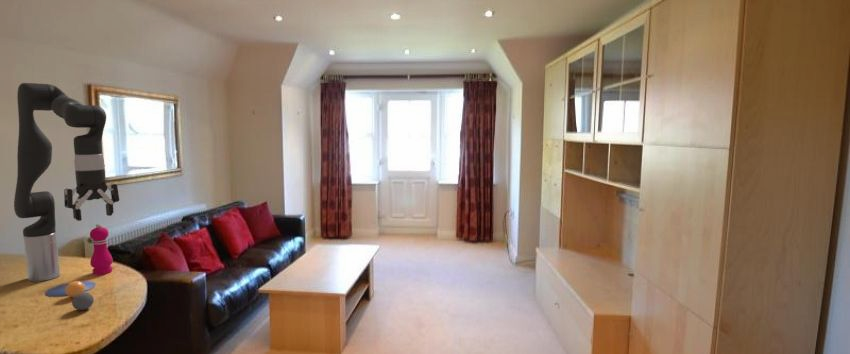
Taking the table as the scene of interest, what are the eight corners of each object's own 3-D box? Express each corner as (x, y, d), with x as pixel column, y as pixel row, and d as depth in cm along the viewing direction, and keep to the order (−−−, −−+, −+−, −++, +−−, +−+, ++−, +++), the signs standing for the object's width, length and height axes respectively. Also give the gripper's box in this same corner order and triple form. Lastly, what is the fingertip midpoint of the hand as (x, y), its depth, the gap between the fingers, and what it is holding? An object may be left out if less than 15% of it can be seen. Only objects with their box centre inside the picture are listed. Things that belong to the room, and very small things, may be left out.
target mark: (38, 291, 154) (38, 290, 154) (84, 279, 166) (84, 278, 166) (55, 299, 147) (55, 299, 147) (102, 286, 159) (102, 286, 159)
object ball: (62, 297, 149) (61, 282, 148) (81, 292, 154) (80, 277, 153) (70, 301, 146) (68, 285, 146) (89, 295, 151) (87, 280, 150)
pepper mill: (101, 276, 170) (97, 226, 167) (86, 274, 171) (81, 225, 168) (118, 270, 177) (114, 222, 174) (103, 268, 178) (99, 220, 175)
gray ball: (69, 310, 140) (68, 294, 139) (89, 304, 144) (88, 288, 144) (77, 314, 137) (76, 298, 136) (97, 308, 141) (96, 292, 141)
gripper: (109, 165, 147) (113, 212, 149) (57, 169, 135) (62, 220, 137) (120, 167, 143) (124, 215, 145) (68, 171, 131) (73, 223, 133)
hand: (94, 217), depth 141 cm, fingers open, 8 cm apart
